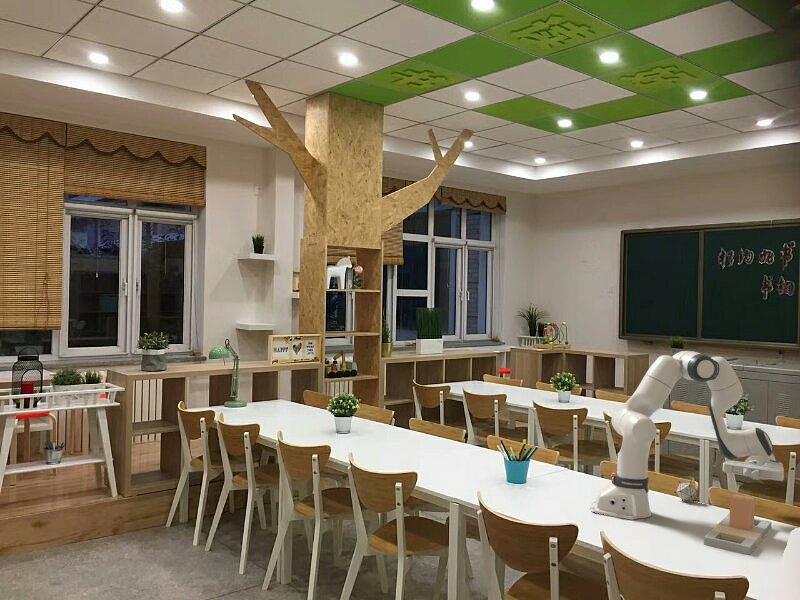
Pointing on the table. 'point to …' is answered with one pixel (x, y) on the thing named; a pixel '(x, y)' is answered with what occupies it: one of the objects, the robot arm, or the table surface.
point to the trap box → (737, 536)
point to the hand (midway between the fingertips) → (748, 474)
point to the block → (741, 512)
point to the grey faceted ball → (686, 491)
